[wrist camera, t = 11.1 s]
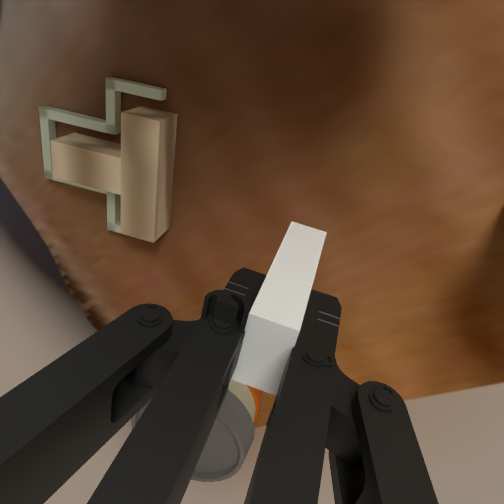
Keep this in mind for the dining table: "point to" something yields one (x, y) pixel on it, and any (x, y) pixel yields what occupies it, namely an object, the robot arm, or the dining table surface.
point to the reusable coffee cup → (227, 433)
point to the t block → (127, 168)
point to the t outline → (107, 126)
